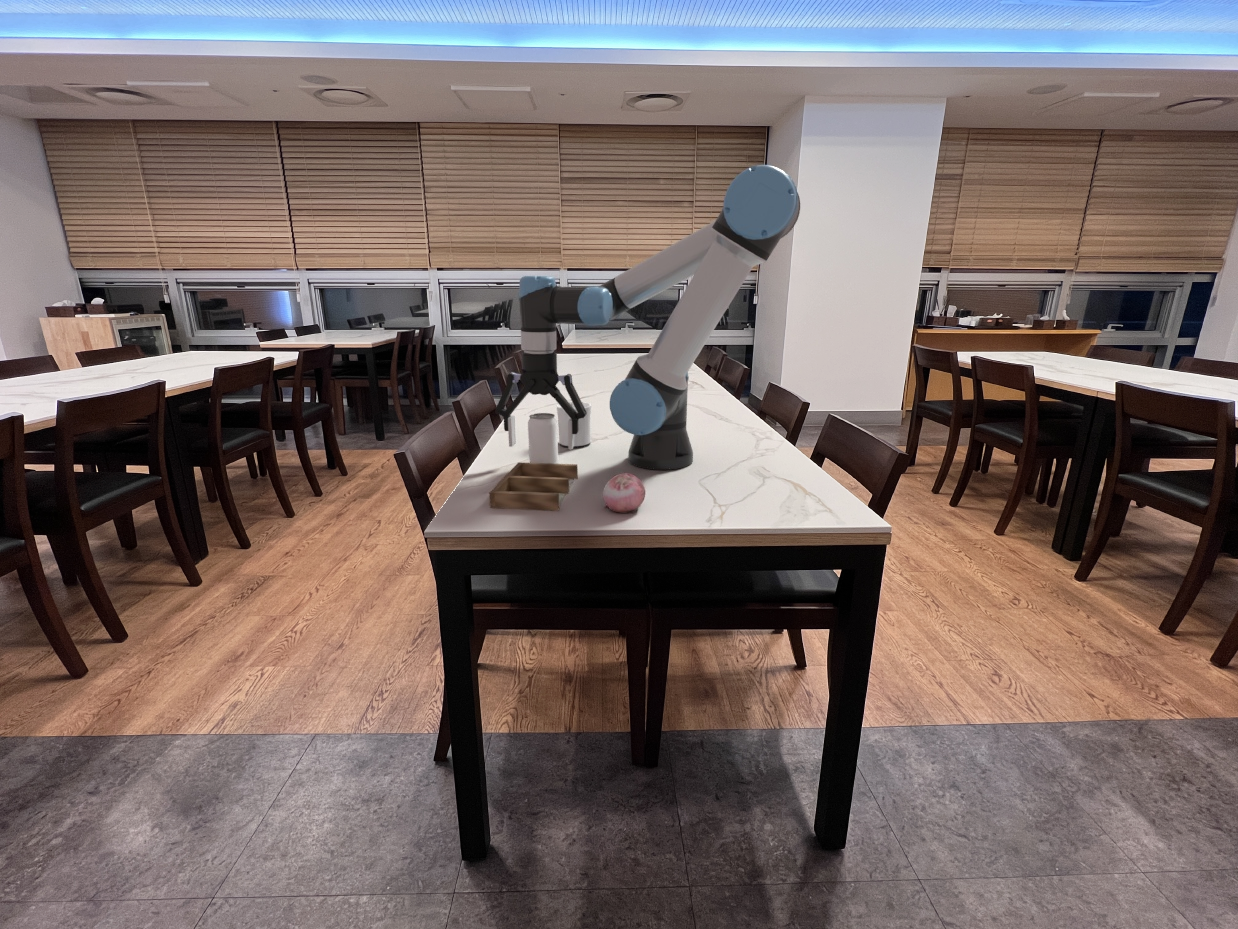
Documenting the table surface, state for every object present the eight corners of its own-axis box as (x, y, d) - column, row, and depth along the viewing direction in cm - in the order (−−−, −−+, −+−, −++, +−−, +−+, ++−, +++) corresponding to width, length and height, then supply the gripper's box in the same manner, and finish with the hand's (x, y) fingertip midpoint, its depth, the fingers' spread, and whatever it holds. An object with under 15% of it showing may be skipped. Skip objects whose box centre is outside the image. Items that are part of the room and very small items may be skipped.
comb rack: (577, 477, 126) (577, 464, 125) (558, 510, 108) (557, 495, 107) (519, 475, 128) (518, 462, 127) (490, 507, 110) (489, 492, 109)
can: (553, 472, 130) (551, 419, 126) (526, 470, 131) (523, 418, 127) (562, 463, 136) (560, 413, 132) (535, 462, 137) (533, 412, 133)
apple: (619, 523, 105) (605, 489, 102) (603, 512, 112) (590, 479, 109) (656, 503, 107) (644, 469, 105) (638, 494, 114) (626, 461, 112)
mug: (591, 448, 148) (590, 408, 145) (555, 448, 148) (554, 408, 145) (593, 437, 158) (592, 400, 155) (560, 437, 158) (559, 400, 155)
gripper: (599, 350, 128) (598, 444, 134) (488, 347, 131) (493, 439, 137) (593, 355, 121) (593, 453, 127) (476, 351, 123) (482, 448, 130)
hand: (541, 446), depth 132 cm, fingers open, 13 cm apart
